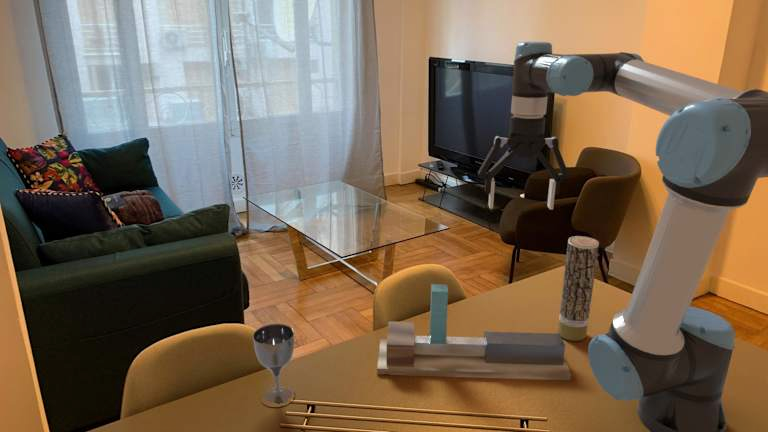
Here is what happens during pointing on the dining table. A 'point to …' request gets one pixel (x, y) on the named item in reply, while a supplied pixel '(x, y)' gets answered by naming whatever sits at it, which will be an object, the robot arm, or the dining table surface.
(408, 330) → the walnut socket
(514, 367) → the birch board
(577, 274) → the bark log
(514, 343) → the steel sleeve
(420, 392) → the dining table surface
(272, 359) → the wine glass
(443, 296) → the sliding bolt
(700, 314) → the robot arm
